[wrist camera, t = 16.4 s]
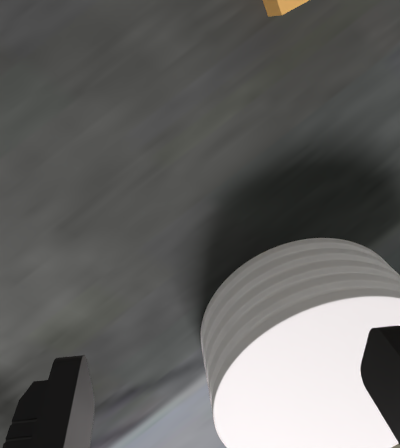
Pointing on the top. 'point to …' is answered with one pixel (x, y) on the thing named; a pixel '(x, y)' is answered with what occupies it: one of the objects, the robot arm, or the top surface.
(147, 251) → the top surface
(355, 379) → the plate stack
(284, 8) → the fully visible block
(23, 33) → the top surface
